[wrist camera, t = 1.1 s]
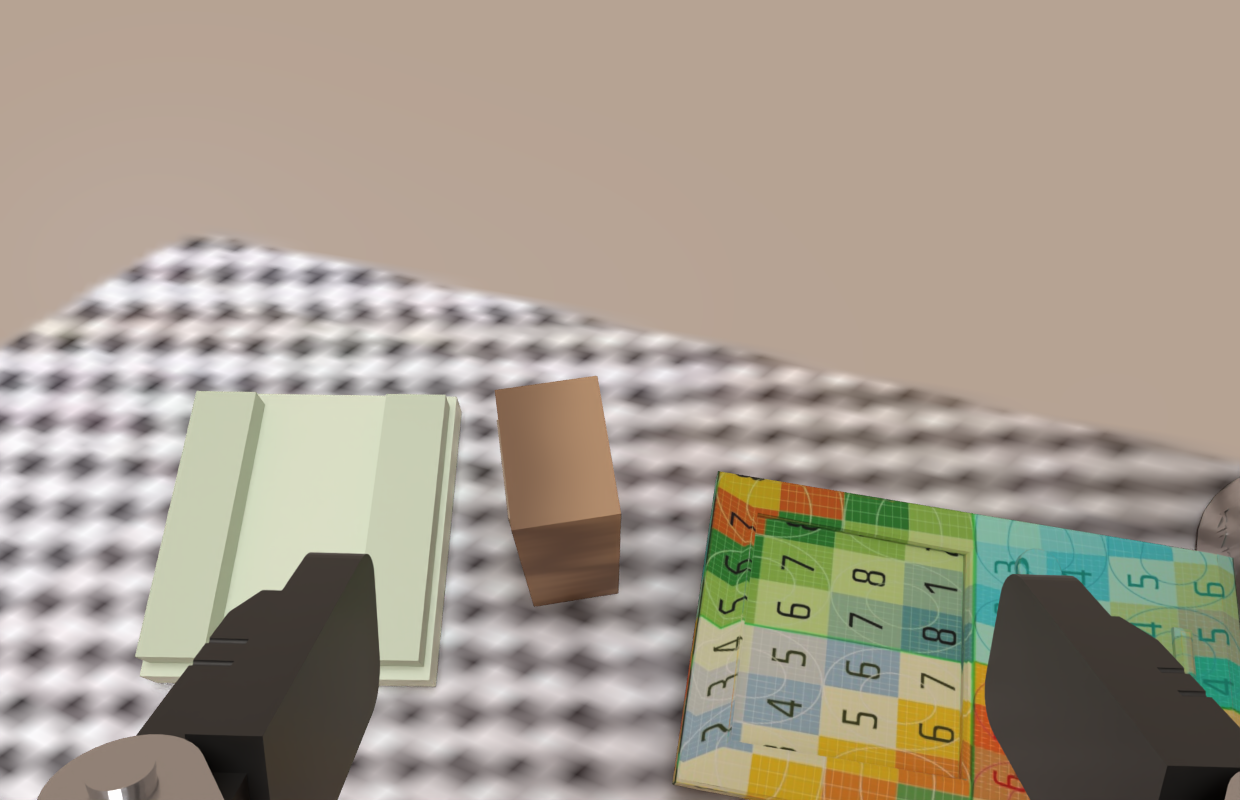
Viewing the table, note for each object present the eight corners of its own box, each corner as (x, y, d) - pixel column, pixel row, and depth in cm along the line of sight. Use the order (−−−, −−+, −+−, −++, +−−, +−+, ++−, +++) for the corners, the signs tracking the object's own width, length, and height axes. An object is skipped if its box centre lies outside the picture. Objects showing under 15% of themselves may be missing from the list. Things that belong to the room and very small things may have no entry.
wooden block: (599, 481, 41) (597, 375, 32) (618, 593, 39) (620, 513, 30) (517, 493, 41) (491, 390, 32) (531, 607, 39) (508, 530, 30)
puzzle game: (1288, 897, 31) (675, 780, 32) (1206, 892, 35) (668, 789, 36) (1248, 550, 36) (720, 462, 37) (1180, 583, 40) (709, 503, 41)
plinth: (461, 411, 43) (452, 384, 40) (435, 686, 37) (423, 674, 35) (216, 408, 43) (193, 380, 40) (156, 682, 37) (125, 670, 35)
